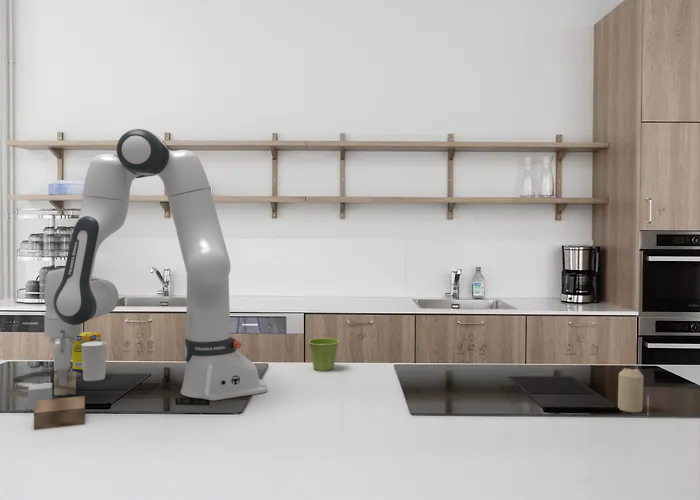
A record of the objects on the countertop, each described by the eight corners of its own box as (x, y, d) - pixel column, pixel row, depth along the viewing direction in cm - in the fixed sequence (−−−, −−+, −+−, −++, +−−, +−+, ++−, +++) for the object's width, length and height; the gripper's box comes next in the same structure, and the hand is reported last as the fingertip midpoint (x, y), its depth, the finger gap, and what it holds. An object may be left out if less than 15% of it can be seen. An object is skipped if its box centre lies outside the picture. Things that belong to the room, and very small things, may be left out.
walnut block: (84, 412, 148) (84, 396, 148) (84, 425, 139) (84, 407, 138) (37, 417, 144) (37, 400, 144) (34, 431, 135) (33, 412, 135)
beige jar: (642, 407, 154) (643, 367, 153) (642, 414, 149) (643, 372, 148) (618, 404, 156) (619, 365, 156) (617, 410, 151) (618, 369, 151)
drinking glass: (111, 377, 179) (111, 343, 179) (91, 382, 174) (90, 347, 173) (97, 374, 183) (96, 340, 182) (76, 379, 177) (76, 344, 177)
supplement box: (90, 372, 185) (89, 336, 184) (71, 371, 186) (71, 335, 186) (101, 368, 191) (101, 332, 190) (84, 367, 192) (83, 331, 191)
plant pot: (338, 373, 187) (338, 344, 186) (306, 372, 187) (307, 343, 187) (339, 365, 196) (339, 338, 196) (309, 365, 196) (309, 338, 196)
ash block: (75, 389, 167) (75, 371, 167) (75, 394, 162) (75, 375, 162) (55, 391, 165) (55, 372, 165) (54, 396, 160) (53, 377, 160)
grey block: (52, 402, 155) (52, 382, 154) (51, 408, 150) (51, 387, 150) (30, 405, 153) (29, 384, 153) (28, 410, 148) (27, 389, 148)
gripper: (75, 334, 154) (75, 390, 155) (77, 321, 173) (77, 371, 174) (47, 335, 152) (47, 392, 152) (51, 322, 170) (52, 373, 171)
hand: (63, 380), depth 163 cm, fingers open, 8 cm apart
